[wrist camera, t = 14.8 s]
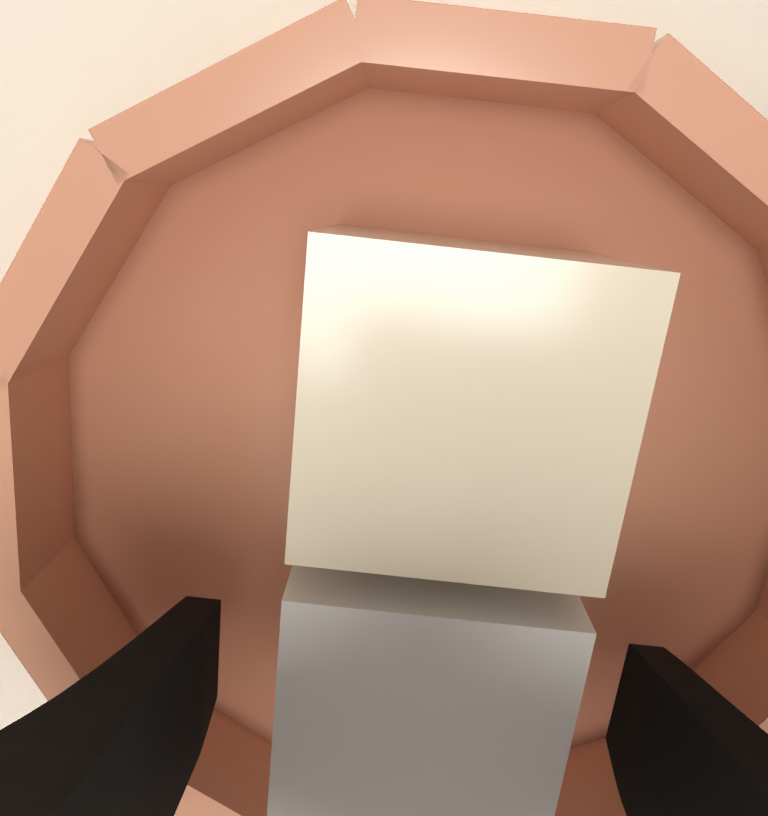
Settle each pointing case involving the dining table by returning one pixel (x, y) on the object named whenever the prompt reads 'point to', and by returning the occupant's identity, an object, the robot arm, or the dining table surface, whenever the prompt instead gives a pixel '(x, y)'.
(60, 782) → the robot arm
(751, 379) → the bowl
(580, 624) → the greyish beige cube
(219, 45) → the dining table surface
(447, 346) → the cream matte cube
